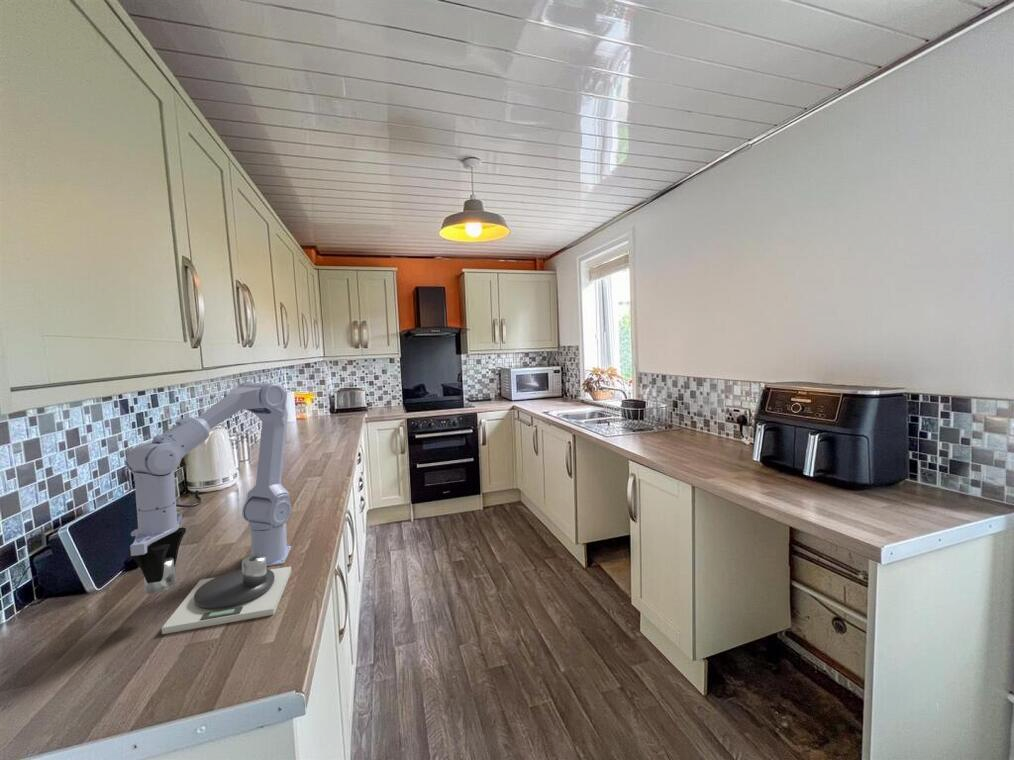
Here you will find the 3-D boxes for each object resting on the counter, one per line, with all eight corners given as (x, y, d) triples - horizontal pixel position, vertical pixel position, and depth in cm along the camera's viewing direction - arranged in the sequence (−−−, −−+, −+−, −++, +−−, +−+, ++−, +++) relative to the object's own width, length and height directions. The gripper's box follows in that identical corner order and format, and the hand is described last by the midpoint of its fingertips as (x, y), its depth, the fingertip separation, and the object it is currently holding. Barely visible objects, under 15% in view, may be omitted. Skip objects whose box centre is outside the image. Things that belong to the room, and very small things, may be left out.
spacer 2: (245, 578, 88) (244, 555, 88) (268, 574, 90) (267, 552, 90) (240, 589, 84) (239, 565, 84) (264, 585, 86) (263, 561, 85)
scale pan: (210, 577, 91) (209, 573, 91) (281, 566, 95) (280, 563, 95) (181, 615, 77) (180, 610, 77) (265, 601, 81) (265, 597, 81)
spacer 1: (151, 583, 81) (149, 558, 80) (178, 579, 82) (177, 554, 82) (140, 596, 76) (138, 569, 76) (169, 591, 78) (167, 565, 78)
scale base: (200, 584, 91) (200, 577, 90) (291, 571, 96) (291, 564, 96) (162, 634, 74) (161, 625, 74) (273, 614, 80) (273, 606, 80)
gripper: (151, 495, 84) (156, 560, 85) (106, 523, 70) (112, 599, 71) (192, 491, 86) (196, 554, 87) (156, 517, 72) (161, 592, 73)
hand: (161, 574), depth 79 cm, fingers closed on spacer 1, 4 cm apart
